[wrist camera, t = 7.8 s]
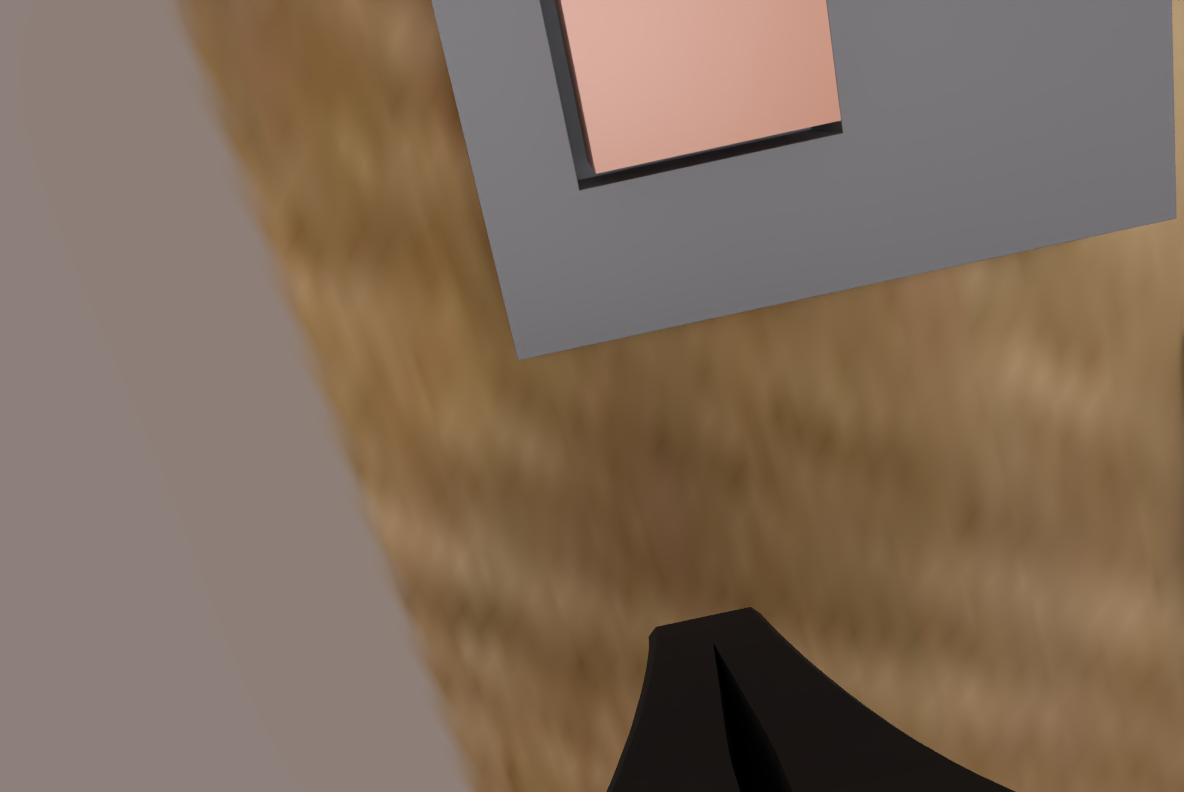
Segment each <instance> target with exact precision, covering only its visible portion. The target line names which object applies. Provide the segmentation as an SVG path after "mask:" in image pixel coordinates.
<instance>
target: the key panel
mask: <svg viewBox="0 0 1184 792" xmlns="http://www.w3.org/2000/svg"><path fill="white" fill-rule="evenodd" d="M431 1H432V5H433V9H434V13H435V18H436V22H437V26H438V30H439V34H440V38H441V42H442V47H443V51H444V55H445V59H446V63H447V67H448V72H449V76H450V80H451V84H452V88H453V92H454V96H455V101H456V105H457V109H458V113H459V117H460V121H461V125H462V130H463V134H464V138H465V142H466V146H467V150H468V154H469V159H470V163H471V167H472V171H473V175H474V179H475V183H476V188H477V192H478V196H479V200H480V204H481V208H482V212H483V217H484V221H485V225H486V229H487V233H488V237H489V241H490V246H491V250H492V254H493V258H494V262H495V266H496V270H497V275H498V279H499V283H500V287H501V291H502V295H503V299H504V304H505V308H506V312H507V316H508V320H509V324H510V328H511V333H512V337H513V341H514V345H515V349H516V353H517V357H518V360H522V359H526V358H531V357H536V356H540V355H545V354H550V353H554V352H559V351H563V350H568V349H573V348H577V347H582V346H587V345H591V344H596V343H601V342H605V341H610V340H615V339H619V338H624V337H628V336H633V335H638V334H642V333H647V332H652V331H656V330H661V329H666V328H670V327H675V326H679V325H684V324H689V323H693V322H698V321H703V320H707V319H712V318H717V317H721V316H726V315H731V314H735V313H740V312H744V311H749V310H754V309H758V308H763V307H768V306H772V305H777V304H782V303H786V302H791V301H795V300H800V299H805V298H809V297H814V296H819V295H823V294H828V293H833V292H837V291H842V290H846V289H851V288H856V287H860V286H865V285H870V284H874V283H879V282H884V281H888V280H893V279H898V278H902V277H907V276H911V275H916V274H921V273H925V272H930V271H935V270H939V269H944V268H949V267H953V266H958V265H962V264H967V263H972V262H976V261H981V260H986V259H990V258H995V257H1000V256H1004V255H1009V254H1014V253H1018V252H1023V251H1027V250H1032V249H1037V248H1041V247H1046V246H1051V245H1055V244H1060V243H1065V242H1069V241H1074V240H1078V239H1083V238H1088V237H1092V236H1097V235H1102V234H1106V233H1111V232H1116V231H1120V230H1125V229H1130V228H1134V227H1139V226H1143V225H1148V224H1153V223H1157V222H1162V221H1167V220H1171V219H1176V174H1175V129H1174V85H1173V40H1172V0H826V3H827V11H828V19H829V27H830V35H831V43H832V51H833V59H834V67H835V76H836V84H837V92H838V100H839V108H840V116H841V121H836V122H832V123H827V124H822V125H818V126H813V127H809V128H804V129H799V130H795V131H790V132H786V133H781V134H777V135H772V136H767V137H763V138H758V139H754V140H749V141H744V142H740V143H735V144H731V145H726V146H722V147H717V148H712V149H708V150H703V151H699V152H694V153H689V154H685V155H680V156H676V157H671V158H667V159H662V160H657V161H653V162H648V163H644V164H639V165H634V166H630V167H625V168H621V169H616V170H612V171H607V172H602V173H598V174H596V173H595V172H594V170H593V169H592V167H591V166H590V164H589V163H588V161H587V157H586V152H585V147H584V142H583V137H582V132H581V127H580V122H579V117H578V113H577V108H576V103H575V98H574V93H573V88H572V83H571V78H570V74H569V69H568V64H567V59H566V54H565V49H564V44H563V39H562V35H561V30H560V25H559V20H558V15H557V10H556V5H555V0H431Z"/></svg>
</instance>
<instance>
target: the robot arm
mask: <svg viewBox="0 0 1184 792" xmlns="http://www.w3.org/2000/svg"><path fill="white" fill-rule="evenodd" d="M607 792H1015V791H1013V790H1010V789H1008V788H1006V787H1004V786H1002V785H1000V784H997V783H995V782H993V781H991V780H989V779H986V778H984V777H982V776H980V775H978V774H976V773H974V772H972V771H970V770H968V769H966V768H964V767H962V766H960V765H958V764H956V763H954V762H953V761H951V760H949V759H947V758H946V757H944V756H942V755H940V754H939V753H937V752H935V751H933V750H932V749H930V748H928V747H926V746H925V745H923V744H921V743H919V742H918V741H916V740H914V739H913V738H911V737H910V736H908V735H907V734H905V733H904V732H902V731H901V730H899V729H898V728H896V727H894V726H893V725H891V724H890V723H889V722H887V721H886V720H884V719H883V718H882V717H880V716H879V715H877V714H876V713H874V712H873V711H872V710H870V709H869V708H867V707H866V706H865V705H863V704H862V703H861V702H859V701H858V700H857V699H855V698H854V697H853V696H851V695H850V694H849V693H847V692H846V691H845V690H844V689H842V688H841V687H840V686H839V685H838V684H836V683H835V682H834V681H833V680H831V679H830V678H829V677H828V676H826V675H825V674H824V673H823V672H822V671H820V670H819V669H818V668H817V667H816V666H814V665H813V664H812V663H811V662H810V661H809V660H808V659H806V658H805V657H804V656H803V655H802V654H801V653H800V652H799V651H798V650H796V649H795V648H794V647H793V646H792V645H791V644H790V643H789V642H788V641H787V640H786V639H785V638H784V637H783V636H782V635H781V634H780V633H779V632H778V631H777V630H776V629H775V628H774V627H773V626H772V625H771V624H770V623H769V622H768V621H767V620H766V619H765V618H764V617H763V616H762V615H761V614H760V613H759V612H757V611H756V610H754V609H753V608H751V607H748V608H744V609H739V610H734V611H729V612H725V613H720V614H715V615H710V616H706V617H701V618H696V619H692V620H687V621H682V622H677V623H673V624H668V625H663V626H658V627H656V628H655V629H654V630H653V632H652V633H651V634H650V636H649V653H648V662H647V668H646V673H645V678H644V683H643V687H642V692H641V695H640V699H639V702H638V706H637V709H636V713H635V716H634V720H633V723H632V727H631V730H630V733H629V736H628V739H627V741H626V744H625V747H624V749H623V752H622V754H621V757H620V760H619V762H618V765H617V768H616V770H615V773H614V776H613V778H612V780H611V783H610V785H609V787H608V790H607Z"/></svg>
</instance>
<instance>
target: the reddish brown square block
mask: <svg viewBox="0 0 1184 792" xmlns="http://www.w3.org/2000/svg"><path fill="white" fill-rule="evenodd" d="M555 5H556V10H557V15H558V20H559V25H560V30H561V35H562V39H563V44H564V49H565V54H566V59H567V64H568V69H569V74H570V78H571V83H572V88H573V93H574V98H575V103H576V108H577V113H578V117H579V122H580V127H581V132H582V137H583V142H584V147H585V152H586V157H587V161H588V163H589V164H590V166H591V167H592V169H593V170H594V172H595V173H596V174H598V173H602V172H607V171H612V170H616V169H621V168H625V167H630V166H634V165H639V164H644V163H648V162H653V161H657V160H662V159H667V158H671V157H676V156H680V155H685V154H689V153H694V152H699V151H703V150H708V149H712V148H717V147H722V146H726V145H731V144H735V143H740V142H744V141H749V140H754V139H758V138H763V137H767V136H772V135H777V134H781V133H786V132H790V131H795V130H799V129H804V128H809V127H813V126H818V125H822V124H827V123H832V122H836V121H841V116H840V108H839V100H838V92H837V84H836V76H835V67H834V59H833V51H832V43H831V35H830V27H829V19H828V11H827V3H826V0H555Z"/></svg>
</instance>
